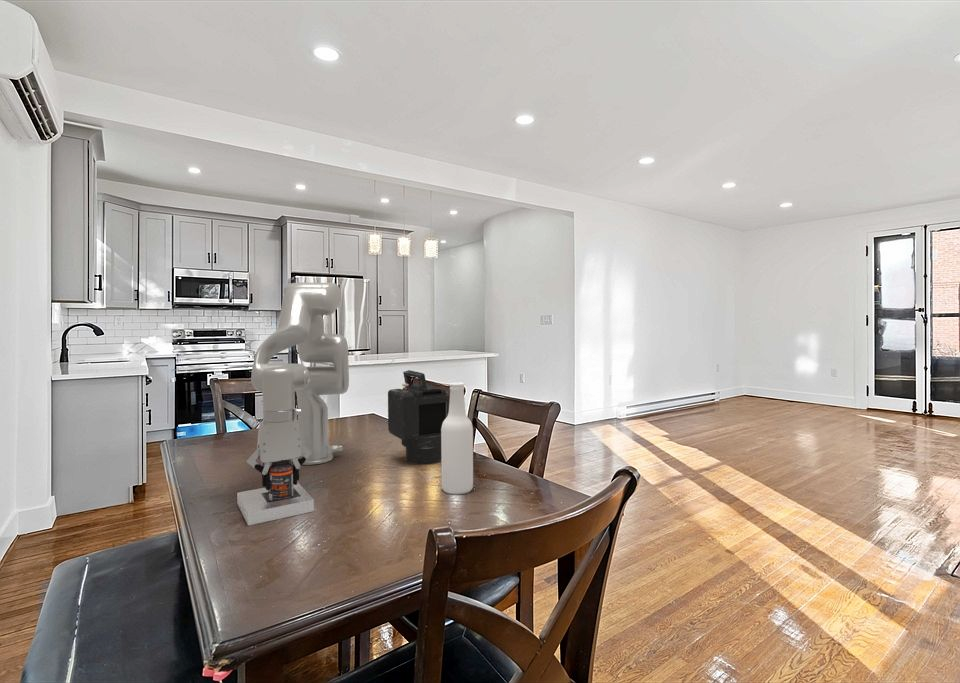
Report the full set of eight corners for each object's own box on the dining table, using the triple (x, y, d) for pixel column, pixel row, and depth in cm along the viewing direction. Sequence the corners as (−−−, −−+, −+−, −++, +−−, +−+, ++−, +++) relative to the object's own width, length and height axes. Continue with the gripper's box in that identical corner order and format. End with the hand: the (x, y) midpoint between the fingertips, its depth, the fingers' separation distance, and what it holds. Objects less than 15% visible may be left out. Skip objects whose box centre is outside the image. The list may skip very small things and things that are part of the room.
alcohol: (435, 490, 137) (434, 383, 135) (455, 482, 144) (455, 380, 142) (459, 497, 131) (459, 385, 130) (479, 488, 138) (479, 382, 137)
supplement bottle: (269, 507, 122) (268, 462, 121) (267, 499, 127) (266, 456, 126) (295, 502, 124) (294, 458, 124) (292, 495, 130) (291, 452, 129)
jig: (297, 492, 136) (297, 481, 135) (313, 511, 122) (313, 499, 122) (237, 504, 127) (237, 492, 127) (248, 525, 114) (247, 513, 114)
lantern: (454, 460, 165) (453, 371, 164) (405, 469, 156) (404, 375, 154) (434, 450, 178) (433, 367, 176) (387, 458, 168) (386, 370, 167)
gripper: (310, 409, 132) (311, 475, 133) (239, 417, 123) (241, 488, 124) (318, 414, 126) (319, 483, 127) (244, 422, 117) (246, 497, 118)
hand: (280, 485), depth 126 cm, fingers closed on supplement bottle, 5 cm apart
